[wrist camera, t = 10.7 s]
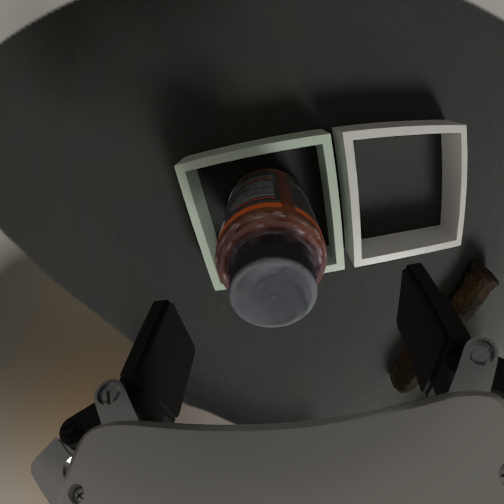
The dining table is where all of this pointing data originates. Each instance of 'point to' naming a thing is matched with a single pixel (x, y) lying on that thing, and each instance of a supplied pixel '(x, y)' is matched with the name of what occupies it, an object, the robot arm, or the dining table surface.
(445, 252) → the dining table surface
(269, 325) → the supplement bottle
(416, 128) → the grey bin
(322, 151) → the sage bin
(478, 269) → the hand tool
